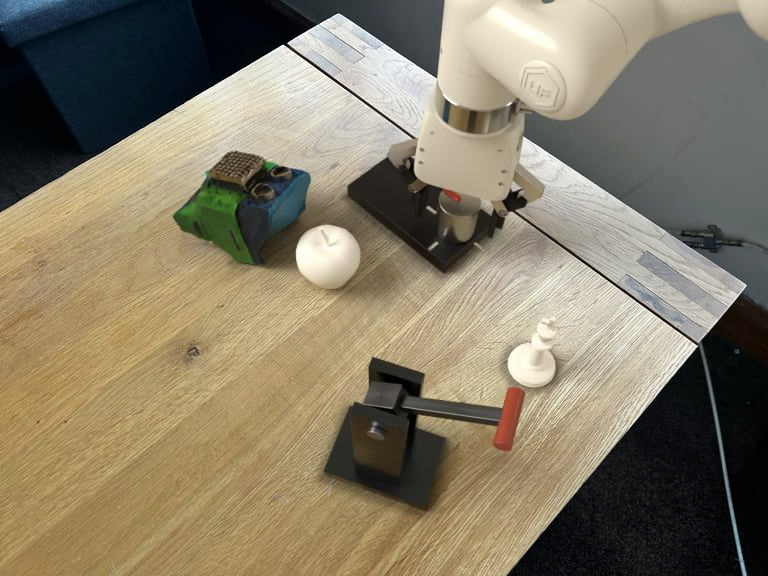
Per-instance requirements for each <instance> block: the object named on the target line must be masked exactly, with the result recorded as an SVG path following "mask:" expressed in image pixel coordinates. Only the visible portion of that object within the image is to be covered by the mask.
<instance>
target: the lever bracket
mask: <svg viewBox="0 0 768 576" xmlns="http://www.w3.org/2000/svg"><path fill="white" fill-rule="evenodd" d="M367 372H368V373H367V374H368V375H367V376H368V387H369V386H370V384H371V381H379V382H388V383H396V384H402V385H403V386H404V388H405V389H406V390H407V392H408V393H409V395H410V396H415V397H422V398H423V392H424V385H425V379H426V373H424V372H422V371H419V370H416V369H412V368H410V367H406V366H403V365H400V364H397V363H394V362H391V361H388V360H385V359H381V358H378V357H375V356H372V357H371V358H370V361H369V363H368V366H367ZM419 418H420V415H415V414H407V417H406V418H403V417H400V416H397V415H394V414H391V413H388V412H385V411H382V410H379V409H376V408H373V407H370V406H367V405H364V404H363V403H361V402H358V401H353V404H352V405H349V407H348V408H347V412H346V413H345V416H344V419H343V421H342V424H341V426H340V428H339V431H338V434H337V436H336V439H335V441H334V443H333V446H332V449H331V451H330V453H329V456H328V459H327V461H326V463H325V466H324V468H323V470H322V472H323V475H324V476H325V477H328V478H331V479H334V480H337V481H339V482H342V483H346V484H348V485H351V486H353V487H357V488H359V489H361V490H365V491H368V492H370V493H373V494H376V495H379V496H381V497H383V498H384V497H385V498H387V499H389V500H393V501H396V502H398V503H400V504H404V505H407V506H409V507H412V508H414V509H418V510H421V511H425V510H426V506H427V503H428V500H429V496H430V493H431V491H432V487H433V483H434V480H435V478H436V474H437V471H438V469H439V464H440V461H441V458H442V455H443V451H444V448H445V446H446V442H447V437H446V436H442V435H439V434H436V433H433V432H430V431H427V430H425V429H422V428H418V426H419Z"/></svg>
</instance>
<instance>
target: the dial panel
mask: <svg viewBox="0 0 768 576" xmlns="http://www.w3.org/2000/svg"><path fill="white" fill-rule="evenodd" d="M408 158H409V159H411V160H412V161H413V162H415V157H413V156H412V157H408ZM408 186H409V184H408V183H407V182H406V181H405V180H404V179H403V178H402V177H401V176H400V175H399V174H398V172H397V167H395V166H394V165H393V164H392V162H391V161H390V159H389V158H388V157H387V156H386V157H384V158H383V159H382V160H380V161H379V162H378V163H376V164H375V165H373V166H372V167H371V168H369V169H368V170H367V171H365V172H363V173H362V174H361V175H360V176H359V177H357V178H356V179H354V180H352V181H351V182H350V183H349V184H347V186H346V189H347V190H346V191H347V197H348V198H349V199H350V200H352V201H353V202H354V203H355V204H356V205H358V206H359V207H360V208H361V209H362V210H364V211H365V212H366V213H367V214H369V215H370V216H372V217H373V218H374V219H375V220H376V221H377V222H379V223H380V224H382V226H384V227H385V228H386V229H387V230H389V231H390V232H391V233H392V234H394V235H395V236H396V237H398V239H400V240H401V241H403V242H404V243H405V244H406V245H407V246H408V247H409V248H411V249H412V250H414V251H415V252H416V253H417V254H419V255H420V256H421V257H422V258H423V259H425V260H426V261H427V262H428V263H429V264H431V265H432V266H433V267H434V268H436V269H437V270H438V271H440V272H441V273H442V274H444V273H445V272H446V271H448V270H449V269H450V268H451V267H453V266H454V265H455V264H457V262H458V261H460V260H461V259H462V258H463V257H464V256H465V255H467V254H468V253H469V252H470V251H471V250H472V249H473V248H475V247H476V248H477V249H479V250H480V251H481V252H484V251H486V248H484V247H483V246H482V245H481V244H479V243H480V242H481V241H483V240H484V239H485V238H486V237H488V236H487V232H488V227H489V223H490V219H491V215H492V214H490V213H488V212H487V211H486V210H484V209H483V208H482V207H481V206H480V209H479V214H478V219H477V224H476V228H475V233H474V235H473V237H472V238H471V239H470V240H469V241H467V242H465V243H462V244H451V243H447V242H445V241H443V240H442V239H441V238H440V237H439V236H438V235H437V233H436V230H435V224H436V216H437V208H438V200H439V195H440V193H441V192H442V191H443V188H440V187H437V186H433V185H430V188H429V197H428V201H427V204H426V206H425V209H424V211H423V214H422V216H421V217H419V218H417V217H414V215H415V206H414V205H411V198H412V192H411V191H410V190H409V189H408Z"/></svg>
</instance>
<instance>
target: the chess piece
mask: <svg viewBox="0 0 768 576" xmlns="http://www.w3.org/2000/svg"><path fill="white" fill-rule="evenodd" d="M560 328H561V322H559V321H556V317H555V316H552V315H551V316H550V317H549V318H546V317H542V319H541V321H539V322H538V325H537V326H536V332H535V333H534V334H533V335H532V337H531V342H525V343H521V344H519V345H517V346H516V347H514V349H513V350H512V351H511V352H510V354H509V356H508V358H507V368H508V371H509V374H510V375H511V377H512V378H513V379H514V380H515V381H516V382H517V383H519V384H520V385H522V386H525V387H528V388H541V387H544V386H546V385H548V384H549V383H550V382H551V381H552V379H554V376H555V373H556V368H557V367H556V361H555V358H554V355H553V354H552V353H551V352H550V350H551V349H552V348H553V347H554V343H555V342H554V339H556V337H557V336H558V335H559V331H560Z"/></svg>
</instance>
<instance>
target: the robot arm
mask: <svg viewBox="0 0 768 576" xmlns="http://www.w3.org/2000/svg"><path fill="white" fill-rule="evenodd" d="M731 14H740V15H741V17H742V18H743V20H744V22H745V23H746V25H747V26H748V27H749V28H750V30H751V31H753V33H754V34H755V35H756V36H758V38H760V39H762V40H763V41H766V42H768V0H553V1H552V2H548V3H545V2H543V0H444V4H443V14H442V23H441V35H440V43H439V44H440V46H439V54H438V66H437V67H438V68H437V76H436V77H437V78H436V85H435V87H434V89H432V90H431V92H430V94H429V97H428V100H427V103H426V105H425V109H424V112H423V117H422V121H421V124H420V130H419V133H418V137H416V138H413V139H408V140H405V141H402V142H399V143H394V144H391V145H390V147H389V149H388V150H387V153H386V157H388V158H389V159H390V161H391V162H392V164H393V165H394V166H395V167H397V172H398V174H399V175H400V176H401V177H402V178H403V179H404V180H405V181H406V182H407V183H408V184H409V186H408V189H409V190H410V191H411V192H412V198H411V205H414V206H415V215H414V217H417V218H419V217H421V216H422V214H423V211H424V209H425V206H426V204H427V201H428V197H429V188H430V185H433V186H437V187H440V188H444V189H448V190H451V191H455V192H458V193H462V194H466V195H470V196H474V197H477V198H480V200H481V199H482V200H487V201H490V203H491V205H492V207H493V209H492V212H491V214H490V215H491V219H490V223H489V227H488V232H487V236H486V237H487V238H489V239H493V238H494V235H495V232H496V229H498V230H503V227H504V224H505V221H506V218H507V217H508V216H509V213H513V212H515V211H517V210H520V209H524V208H526V207H527V205H528V204H532V203H534V202H536V201H537V200H539V199H541V198H542V197H543V195H544V191H545V189H546V188H545V187H546V186H545V184H544V183H543V182H541V181H540V180H539V179H538V178H537V177H536V176H535V175H534V174H532V173H531V172H530V171H529V170H528V169H527V168H526V167H524V166H523V165H522V164H521V163H520V159H521V153H522V150H523V149H522V147H523V142H524V133H525V114H528V115H532V114H533V111H534V112H536V113H537V114H539V115H541V116H543V117H545V118H548V119H551V120H555V121H570V120H574V119H577V118H580V117H581V116H583V115H585V114H586V113H587V112H589V111H590V110H591V109H592V108H593V107H594V106H595V105H596V104H597V102H598V101H600V99H601V98H602V97H603V95H604V94H605V93H606V92H607V91H608V89H609V88H610V87H611V86H612V85H613V83H614V82H615V81H616V80H617V78H619V76H620V75H621V74H622V72H623V71H624V70H625V68H626V67H627V66H628V65H629V64H630V63H631V62H632V60H633V59H634V58H635V57H636V56H637V54H638V53H639V52H640V51H641V49H643V47H644V46H645V45H646V44H647V43H649V42H650V41H653V40H654V39H657V38H659V37H661V36H663V35H666V34H668V33H669V34H670V33H671V32H673V31H676V30H678V29H681V28H684V27H687V26H690V25H693V24H695V23H698V22H701V21H704V20H708V19H711V18H716V17H719V16H723V15H724V16H725V15H731ZM408 157H412V158H413V157H414V159H415V162H413V161H412V160H411V159H409V158H408ZM513 183H514V184H516V185H517V186H518V187H520V188H519V189H517V190H516V189H515V190H514V191H513V190H512V185H513Z"/></svg>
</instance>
